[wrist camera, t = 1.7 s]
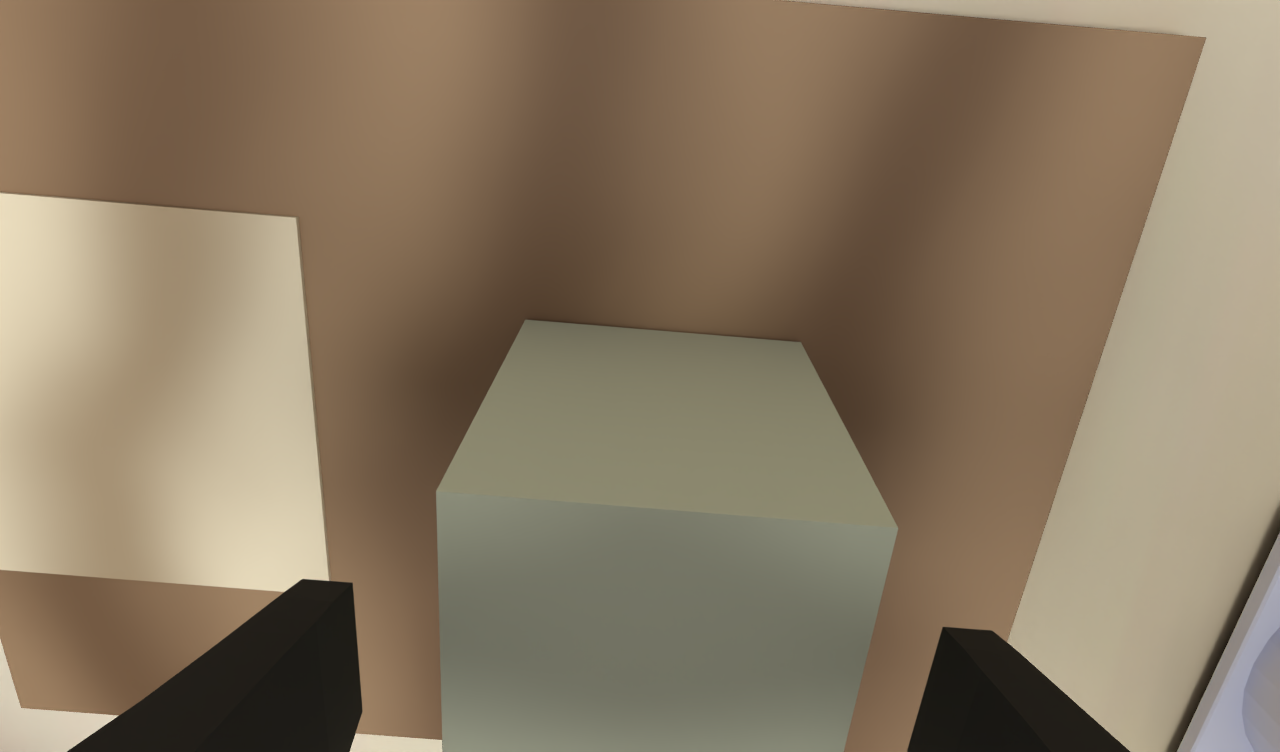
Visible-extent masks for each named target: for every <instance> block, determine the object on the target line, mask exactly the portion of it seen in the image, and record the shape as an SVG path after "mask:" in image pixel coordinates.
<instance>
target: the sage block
mask: <svg viewBox="0 0 1280 752" xmlns="http://www.w3.org/2000/svg"><path fill="white" fill-rule="evenodd" d="M436 509H437V549H438V589H439V629H440V669H441V710H442V750H443V752H844V748H845V744H846V740H847V736H848V732H849V728H850V724H851V719H852V715H853V711H854V707H855V703H856V699H857V695H858V691H859V687H860V683H861V679H862V675H863V670H864V666H865V662H866V658H867V654H868V650H869V646H870V642H871V638H872V634H873V630H874V625H875V621H876V617H877V613H878V609H879V605H880V601H881V597H882V593H883V589H884V585H885V580H886V576H887V572H888V568H889V564H890V560H891V556H892V552H893V548H894V544H895V540H896V536H897V531H898V526H897V525H896V523H895V521H894V519H893V517H892V515H891V513H890V511H889V509H888V507H887V506H886V504H885V502H884V500H883V498H882V496H881V494H880V492H879V490H878V488H877V486H876V485H875V483H874V481H873V479H872V477H871V475H870V473H869V471H868V469H867V467H866V465H865V464H864V462H863V460H862V458H861V456H860V454H859V452H858V450H857V448H856V446H855V445H854V443H853V441H852V439H851V437H850V435H849V433H848V431H847V429H846V427H845V425H844V424H843V422H842V420H841V418H840V416H839V414H838V412H837V410H836V408H835V406H834V404H833V403H832V401H831V399H830V397H829V395H828V393H827V391H826V389H825V387H824V385H823V384H822V382H821V380H820V378H819V376H818V374H817V372H816V370H815V368H814V366H813V364H812V363H811V361H810V359H809V357H808V355H807V353H806V351H805V349H804V347H803V345H802V343H801V342H792V341H780V340H768V339H756V338H743V337H731V336H719V335H707V334H695V333H683V332H670V331H658V330H646V329H634V328H622V327H610V326H597V325H585V324H573V323H561V322H549V321H537V320H525V321H524V323H523V325H522V327H521V329H520V331H519V333H518V335H517V337H516V339H515V341H514V343H513V344H512V346H511V348H510V350H509V352H508V354H507V356H506V358H505V360H504V362H503V364H502V366H501V367H500V369H499V371H498V373H497V375H496V377H495V379H494V381H493V383H492V385H491V387H490V389H489V391H488V392H487V394H486V396H485V398H484V400H483V402H482V404H481V406H480V408H479V410H478V412H477V414H476V416H475V417H474V419H473V421H472V423H471V425H470V427H469V429H468V431H467V433H466V435H465V437H464V439H463V440H462V442H461V444H460V446H459V448H458V450H457V452H456V454H455V456H454V458H453V460H452V462H451V464H450V465H449V467H448V469H447V471H446V473H445V475H444V477H443V479H442V481H441V483H440V485H439V487H438V488H437V490H436Z"/></svg>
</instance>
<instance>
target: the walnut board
mask: <svg viewBox="0 0 1280 752" xmlns="http://www.w3.org/2000/svg"><path fill="white" fill-rule="evenodd" d="M1205 40H1206V38H1205V37H1193V36H1182V35H1170V34H1159V33H1147V32H1136V31H1125V30H1113V29H1102V28H1090V27H1079V26H1067V25H1056V24H1044V23H1033V22H1021V21H1010V20H998V19H987V18H975V17H964V16H953V15H941V14H930V13H918V12H907V11H895V10H884V9H872V8H861V7H849V6H838V5H826V4H815V3H803V2H792V1H781V0H0V639H1V642H2V645H3V649H4V652H5V655H6V659H7V662H8V666H9V669H10V672H11V676H12V679H13V682H14V686H15V689H16V692H17V696H18V699H19V702H20V706H21V708H30V709H43V710H56V711H69V712H82V713H96V714H109V715H121V714H122V713H124V712H125V711H127V710H128V709H130V708H131V707H132V706H134V705H135V704H137V703H138V702H140V701H141V700H142V699H144V698H145V697H146V696H148V695H149V694H151V693H152V692H153V691H155V690H156V689H157V688H159V687H160V686H161V685H163V684H164V683H165V682H167V681H168V680H169V679H171V678H172V677H173V676H175V675H176V674H177V673H179V672H180V671H181V670H183V669H184V668H185V667H187V666H188V665H189V664H191V663H192V662H193V661H195V660H196V659H197V658H199V657H200V656H201V655H203V654H204V653H205V652H207V651H208V650H209V649H211V648H212V647H213V646H215V645H216V644H217V643H219V642H220V641H221V640H223V639H224V638H225V637H226V636H228V635H229V634H230V633H232V632H233V631H234V630H236V629H237V628H238V627H240V626H241V625H242V624H243V623H245V622H246V621H247V620H249V619H250V618H251V617H252V616H254V615H255V614H256V613H258V612H259V611H260V610H262V609H263V608H264V607H265V606H267V605H268V604H269V603H271V602H272V601H273V600H275V599H276V598H277V597H279V596H280V595H281V594H282V593H284V592H285V591H286V590H288V589H289V588H291V587H292V586H293V585H295V584H296V583H297V582H299V581H300V580H302V579H311V580H324V581H338V582H351V583H353V593H354V606H355V619H356V632H357V645H358V658H359V671H360V684H361V697H362V710H363V712H362V715H361V718H360V721H359V724H358V727H357V730H356V733H359V734H372V735H385V736H398V737H411V738H425V739H438V740H442V710H441V669H440V629H439V589H438V549H437V509H436V490H437V488H438V487H439V485H440V483H441V481H442V479H443V477H444V475H445V473H446V471H447V469H448V467H449V465H450V464H451V462H452V460H453V458H454V456H455V454H456V452H457V450H458V448H459V446H460V444H461V442H462V440H463V439H464V437H465V435H466V433H467V431H468V429H469V427H470V425H471V423H472V421H473V419H474V417H475V416H476V414H477V412H478V410H479V408H480V406H481V404H482V402H483V400H484V398H485V396H486V394H487V392H488V391H489V389H490V387H491V385H492V383H493V381H494V379H495V377H496V375H497V373H498V371H499V369H500V367H501V366H502V364H503V362H504V360H505V358H506V356H507V354H508V352H509V350H510V348H511V346H512V344H513V343H514V341H515V339H516V337H517V335H518V333H519V331H520V329H521V327H522V325H523V323H524V321H525V320H537V321H549V322H561V323H573V324H585V325H597V326H610V327H622V328H634V329H646V330H658V331H670V332H683V333H695V334H707V335H719V336H731V337H743V338H756V339H768V340H780V341H792V342H801V343H802V345H803V347H804V349H805V351H806V353H807V355H808V357H809V359H810V361H811V363H812V364H813V366H814V368H815V370H816V372H817V374H818V376H819V378H820V380H821V382H822V384H823V385H824V387H825V389H826V391H827V393H828V395H829V397H830V399H831V401H832V403H833V404H834V406H835V408H836V410H837V412H838V414H839V416H840V418H841V420H842V422H843V424H844V425H845V427H846V429H847V431H848V433H849V435H850V437H851V439H852V441H853V443H854V445H855V446H856V448H857V450H858V452H859V454H860V456H861V458H862V460H863V462H864V464H865V465H866V467H867V469H868V471H869V473H870V475H871V477H872V479H873V481H874V483H875V485H876V486H877V488H878V490H879V492H880V494H881V496H882V498H883V500H884V502H885V504H886V506H887V507H888V509H889V511H890V513H891V515H892V517H893V519H894V521H895V523H896V525H897V526H898V531H897V536H896V540H895V544H894V548H893V552H892V556H891V560H890V564H889V568H888V572H887V576H886V580H885V585H884V589H883V593H882V597H881V601H880V605H879V609H878V613H877V617H876V621H875V625H874V630H873V634H872V638H871V642H870V646H869V650H868V654H867V658H866V662H865V666H864V670H863V675H862V679H861V683H860V687H859V691H858V695H857V699H856V703H855V707H854V711H853V715H852V719H851V724H850V728H849V732H848V736H847V740H846V744H845V748H844V752H907V749H908V746H909V742H910V739H911V735H912V732H913V728H914V725H915V721H916V718H917V714H918V711H919V707H920V704H921V700H922V697H923V693H924V690H925V686H926V683H927V680H928V676H929V673H930V669H931V666H932V662H933V659H934V655H935V652H936V648H937V645H938V641H939V638H940V634H941V631H942V627H953V628H966V629H980V630H992V631H993V632H995V633H996V634H997V635H998V636H1000V637H1001V638H1002V639H1003V640H1005V641H1006V642H1007V640H1008V637H1009V634H1010V631H1011V628H1012V625H1013V622H1014V619H1015V616H1016V613H1017V610H1018V607H1019V604H1020V601H1021V598H1022V595H1023V591H1024V588H1025V585H1026V582H1027V579H1028V576H1029V573H1030V570H1031V567H1032V564H1033V561H1034V558H1035V555H1036V552H1037V549H1038V546H1039V543H1040V540H1041V537H1042V534H1043V531H1044V528H1045V525H1046V522H1047V519H1048V516H1049V513H1050V510H1051V507H1052V504H1053V501H1054V498H1055V495H1056V491H1057V488H1058V485H1059V482H1060V479H1061V476H1062V473H1063V470H1064V467H1065V464H1066V461H1067V458H1068V455H1069V452H1070V449H1071V446H1072V443H1073V440H1074V437H1075V434H1076V431H1077V428H1078V425H1079V422H1080V419H1081V416H1082V413H1083V410H1084V407H1085V404H1086V401H1087V398H1088V395H1089V392H1090V388H1091V385H1092V382H1093V379H1094V376H1095V373H1096V370H1097V367H1098V364H1099V361H1100V358H1101V355H1102V352H1103V349H1104V346H1105V343H1106V340H1107V337H1108V334H1109V331H1110V328H1111V325H1112V322H1113V319H1114V316H1115V313H1116V310H1117V307H1118V304H1119V301H1120V298H1121V295H1122V292H1123V288H1124V285H1125V282H1126V279H1127V276H1128V273H1129V270H1130V267H1131V264H1132V261H1133V258H1134V255H1135V252H1136V249H1137V246H1138V243H1139V240H1140V237H1141V234H1142V231H1143V228H1144V225H1145V222H1146V219H1147V216H1148V213H1149V210H1150V207H1151V204H1152V201H1153V198H1154V195H1155V192H1156V188H1157V185H1158V182H1159V179H1160V176H1161V173H1162V170H1163V167H1164V164H1165V161H1166V158H1167V155H1168V152H1169V149H1170V146H1171V143H1172V140H1173V137H1174V134H1175V131H1176V128H1177V125H1178V122H1179V119H1180V116H1181V113H1182V110H1183V107H1184V104H1185V101H1186V98H1187V95H1188V92H1189V88H1190V85H1191V82H1192V79H1193V76H1194V73H1195V70H1196V67H1197V64H1198V61H1199V58H1200V55H1201V52H1202V49H1203V46H1204V43H1205Z"/></svg>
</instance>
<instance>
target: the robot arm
mask: <svg viewBox="0 0 1280 752" xmlns="http://www.w3.org/2000/svg"><path fill="white" fill-rule="evenodd" d="M362 712H363V710H362V697H361V684H360V671H359V658H358V645H357V632H356V619H355V606H354V593H353V583H351V582H338V581H324V580H311V579H302V580H300V581H299V582H297V583H296V584H295V585H293V586H292V587H291V588H289V589H288V590H286V591H285V592H284V593H282V594H281V595H280V596H279V597H277V598H276V599H275V600H273V601H272V602H271V603H269V604H268V605H267V606H265V607H264V608H263V609H262V610H260V611H259V612H258V613H256V614H255V615H254V616H252V617H251V618H250V619H249V620H247V621H246V622H245V623H243V624H242V625H241V626H240V627H238V628H237V629H236V630H234V631H233V632H232V633H230V634H229V635H228V636H226V637H225V638H224V639H223V640H221V641H220V642H219V643H217V644H216V645H215V646H213V647H212V648H211V649H209V650H208V651H207V652H205V653H204V654H203V655H201V656H200V657H199V658H197V659H196V660H195V661H193V662H192V663H191V664H189V665H188V666H187V667H185V668H184V669H183V670H181V671H180V672H179V673H177V674H176V675H175V676H173V677H172V678H171V679H169V680H168V681H167V682H165V683H164V684H163V685H161V686H160V687H159V688H157V689H156V690H155V691H153V692H152V693H151V694H149V695H148V696H146V697H145V698H144V699H142V700H141V701H140V702H138V703H137V704H135V705H134V706H132V707H131V708H130V709H128V710H127V711H125V712H124V713H122V714H121V715H119V716H118V717H117V718H115V719H114V720H112V721H111V722H109V723H108V724H106V725H105V726H103V727H102V728H101V729H99V730H98V731H96V732H95V733H93V734H92V735H90V736H89V737H88V738H86V739H85V740H83V741H82V742H80V743H79V744H77V745H76V746H75V747H73V748H72V749H70V750H69V751H67V752H349V751H350V748H351V745H352V742H353V739H354V736H355V733H356V730H357V727H358V724H359V721H360V718H361V715H362ZM907 752H1130V751H1129V750H1128V749H1127V748H1126V747H1124V746H1123V745H1122V744H1121V743H1120V742H1119V741H1118V740H1116V739H1115V738H1114V737H1113V736H1112V735H1111V734H1110V733H1109V732H1107V731H1106V730H1105V729H1104V728H1103V727H1102V726H1101V725H1099V724H1098V723H1097V722H1096V721H1095V720H1094V719H1093V718H1092V717H1091V716H1089V715H1088V714H1087V713H1086V712H1085V711H1084V710H1083V709H1082V708H1080V707H1079V706H1078V705H1077V704H1076V703H1075V702H1074V701H1073V700H1072V699H1070V698H1069V697H1068V696H1067V695H1066V694H1065V693H1064V692H1063V691H1061V690H1060V689H1059V688H1058V687H1057V686H1056V685H1055V684H1054V683H1053V682H1051V681H1050V680H1049V679H1048V678H1047V677H1046V676H1045V675H1044V674H1042V673H1041V672H1040V671H1039V670H1038V669H1037V668H1036V667H1035V666H1033V665H1032V664H1031V663H1030V662H1029V661H1028V660H1027V659H1026V658H1024V657H1023V656H1022V655H1021V654H1020V653H1019V652H1018V651H1016V650H1015V649H1014V648H1013V647H1012V646H1011V645H1009V644H1008V643H1007V642H1006V641H1005V640H1003V639H1002V638H1001V637H1000V636H998V635H997V634H996V633H995V632H993V631H992V630H980V629H966V628H953V627H942V631H941V634H940V638H939V641H938V645H937V648H936V652H935V655H934V659H933V662H932V666H931V669H930V673H929V676H928V680H927V683H926V686H925V690H924V693H923V697H922V700H921V704H920V707H919V711H918V714H917V718H916V721H915V725H914V728H913V732H912V735H911V739H910V742H909V746H908V749H907ZM1177 752H1280V533H1279V535H1278V537H1277V539H1276V541H1275V543H1274V546H1273V548H1272V550H1271V552H1270V554H1269V556H1268V558H1267V560H1266V563H1265V565H1264V567H1263V569H1262V571H1261V573H1260V575H1259V578H1258V580H1257V582H1256V584H1255V586H1254V588H1253V590H1252V593H1251V595H1250V597H1249V599H1248V601H1247V603H1246V605H1245V607H1244V610H1243V612H1242V614H1241V616H1240V618H1239V620H1238V622H1237V625H1236V627H1235V629H1234V631H1233V633H1232V635H1231V637H1230V639H1229V642H1228V644H1227V646H1226V648H1225V650H1224V652H1223V654H1222V657H1221V659H1220V661H1219V663H1218V665H1217V667H1216V669H1215V671H1214V674H1213V676H1212V678H1211V680H1210V682H1209V684H1208V686H1207V689H1206V691H1205V693H1204V695H1203V697H1202V699H1201V701H1200V703H1199V706H1198V708H1197V710H1196V712H1195V714H1194V716H1193V718H1192V721H1191V723H1190V725H1189V727H1188V729H1187V731H1186V733H1185V735H1184V738H1183V740H1182V742H1181V744H1180V746H1179V748H1178V750H1177Z"/></svg>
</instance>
